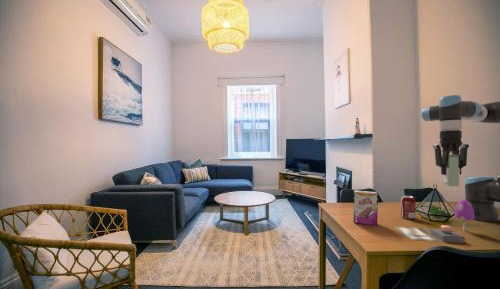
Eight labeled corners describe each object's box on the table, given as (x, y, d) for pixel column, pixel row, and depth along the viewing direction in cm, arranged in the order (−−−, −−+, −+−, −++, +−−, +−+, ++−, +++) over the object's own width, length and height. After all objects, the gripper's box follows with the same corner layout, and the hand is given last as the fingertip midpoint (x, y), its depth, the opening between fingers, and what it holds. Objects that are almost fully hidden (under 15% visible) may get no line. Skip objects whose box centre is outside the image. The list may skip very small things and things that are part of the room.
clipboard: (437, 229, 111) (437, 228, 111) (463, 243, 95) (463, 242, 95) (392, 227, 114) (392, 226, 114) (410, 240, 98) (410, 239, 98)
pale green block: (452, 184, 106) (452, 154, 106) (459, 186, 102) (458, 154, 102) (443, 184, 106) (443, 154, 106) (449, 186, 103) (449, 154, 102)
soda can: (418, 220, 125) (417, 198, 125) (404, 219, 127) (404, 197, 127) (411, 216, 132) (411, 195, 132) (398, 215, 133) (398, 194, 133)
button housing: (450, 235, 103) (450, 229, 103) (464, 242, 95) (464, 236, 95) (430, 234, 104) (430, 228, 104) (443, 241, 96) (443, 235, 96)
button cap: (448, 234, 101) (448, 225, 101) (455, 238, 97) (455, 228, 97) (438, 234, 102) (438, 224, 102) (445, 237, 98) (445, 228, 98)
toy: (476, 235, 104) (476, 202, 104) (456, 232, 107) (456, 200, 107) (472, 230, 109) (472, 199, 109) (453, 228, 113) (453, 197, 113)
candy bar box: (353, 223, 120) (353, 191, 120) (353, 220, 125) (353, 190, 125) (378, 226, 115) (377, 193, 116) (377, 223, 120) (377, 191, 120)
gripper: (464, 130, 107) (465, 180, 107) (425, 131, 109) (426, 180, 109) (478, 129, 99) (479, 183, 99) (435, 130, 102) (436, 183, 102)
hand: (451, 181), depth 104 cm, fingers closed on pale green block, 4 cm apart
